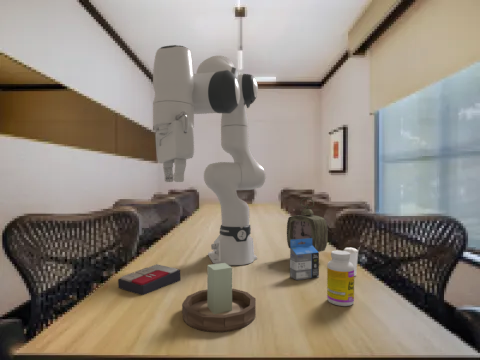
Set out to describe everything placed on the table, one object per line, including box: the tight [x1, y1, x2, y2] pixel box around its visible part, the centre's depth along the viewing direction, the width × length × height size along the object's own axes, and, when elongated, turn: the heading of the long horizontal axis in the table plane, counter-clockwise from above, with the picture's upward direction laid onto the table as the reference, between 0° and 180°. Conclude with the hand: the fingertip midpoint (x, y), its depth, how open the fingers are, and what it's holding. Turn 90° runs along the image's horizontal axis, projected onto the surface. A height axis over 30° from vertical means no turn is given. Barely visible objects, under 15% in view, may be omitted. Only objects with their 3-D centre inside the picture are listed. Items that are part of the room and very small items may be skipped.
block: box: [206, 263, 233, 314], centre depth 69 cm, size 4×4×10 cm
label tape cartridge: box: [289, 238, 320, 281], centre depth 96 cm, size 9×4×12 cm, turn 112°
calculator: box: [117, 263, 181, 296], centre depth 90 cm, size 11×4×15 cm
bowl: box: [181, 288, 257, 333], centre depth 69 cm, size 17×17×3 cm
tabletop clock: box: [286, 197, 329, 253], centre depth 118 cm, size 14×9×25 cm, turn 38°
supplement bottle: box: [326, 249, 355, 307], centre depth 76 cm, size 7×7×13 cm
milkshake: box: [343, 245, 361, 277], centre depth 98 cm, size 4×5×10 cm
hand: (173, 182), depth 65 cm, fingers open, 8 cm apart
